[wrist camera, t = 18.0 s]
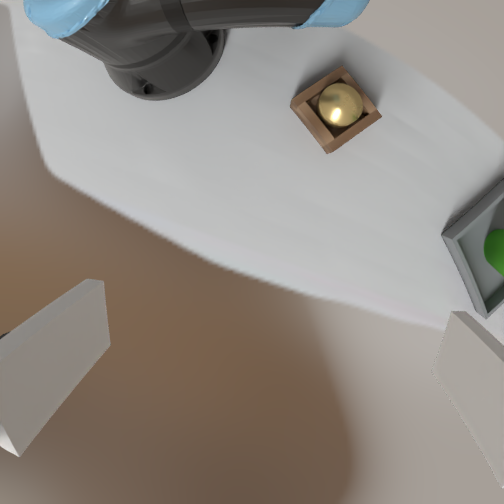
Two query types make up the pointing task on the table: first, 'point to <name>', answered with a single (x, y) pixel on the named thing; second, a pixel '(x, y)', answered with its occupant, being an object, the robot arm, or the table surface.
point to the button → (339, 105)
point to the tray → (479, 251)
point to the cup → (495, 250)
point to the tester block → (322, 133)
